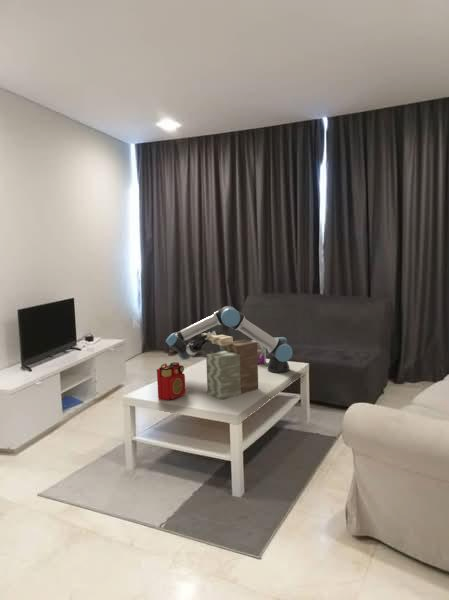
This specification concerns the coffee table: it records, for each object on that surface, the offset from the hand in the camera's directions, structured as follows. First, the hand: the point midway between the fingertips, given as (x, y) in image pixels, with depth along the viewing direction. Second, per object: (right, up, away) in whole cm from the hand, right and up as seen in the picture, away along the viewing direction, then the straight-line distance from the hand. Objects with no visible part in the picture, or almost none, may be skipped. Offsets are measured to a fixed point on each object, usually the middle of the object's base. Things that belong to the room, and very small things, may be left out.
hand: (212, 333), depth 274 cm
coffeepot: (+9, -26, +80) cm, 84 cm away
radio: (-24, -37, -5) cm, 44 cm away
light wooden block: (+2, -5, -1) cm, 5 cm away
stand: (+12, -35, +1) cm, 37 cm away
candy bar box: (+32, -27, +67) cm, 79 cm away
